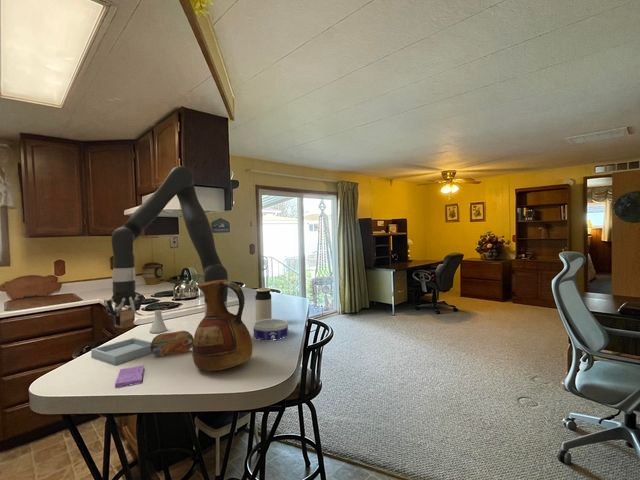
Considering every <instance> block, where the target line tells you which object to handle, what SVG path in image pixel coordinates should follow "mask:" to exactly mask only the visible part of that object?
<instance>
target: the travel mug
mask: <svg viewBox="0 0 640 480" xmlns="http://www.w3.org/2000/svg"><path fill="white" fill-rule="evenodd" d="M255 291H256V293H255V299H254V300H255V322H256V321H259V320H264V319H273V317H272V315H273V314H272V293H271V291H272V290H271V288H269V287H268V288H267V287H262V288H257V289H255Z"/></svg>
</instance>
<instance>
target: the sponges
mask: <svg viewBox="0 0 640 480" xmlns="http://www.w3.org/2000/svg"><path fill="white" fill-rule="evenodd" d="M143 370H144V371H145V366H144V364H143V365H137V366H132V367H128V368H127V367H126V368H121V369H120V368H119V372H118V375H117V377H116V380H115V382H114V389H116V387H117V388H121V386H123V387H127V386H126V385H128V386H131V385H130V384H133V385H136V384H135V383H139V384H141V383H142V381H143V376H144V375H143V374H144V371H143ZM140 382H141V383H140Z"/></svg>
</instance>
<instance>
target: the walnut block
mask: <svg viewBox="0 0 640 480" xmlns="http://www.w3.org/2000/svg"><path fill="white" fill-rule="evenodd" d="M119 316H120V326H116V325H115V324H114V327H115V328H119V329H125V328H128V327H129V328H130V327H132V326H135V325H134V321H135V320H134V310H131V309H128V308H122V310H121V312H120V315H119Z"/></svg>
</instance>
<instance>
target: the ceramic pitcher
mask: <svg viewBox="0 0 640 480" xmlns="http://www.w3.org/2000/svg"><path fill="white" fill-rule="evenodd" d="M196 287H197V288H198V289H200V290H201V292H202V293H203V295H204V296H205V300H206V304H207V310H206V316H205V315H204V317H203V318H202V319H201V320H200V321H199V323H198V325H197V327H196V329H195V332H194V336H193V338H194V340H193V346H192V348H191V350H192V354H191V355H192V359H193V363H194V365H195V367H196V368H198V369H199V370H202V371H221V370H226V369H231V368H232V367H233V368H234V367H236V366H238V365H242V364H244V363H245V362H247V361H248V360H250V358H251V357H252V356H253V348H254V347H253V340H252V336H251V334H250V331H249V329H248V327H247V326H246V324H245V323H244V322H243V320H242V316H243V312H244V311H243V310H244V308H245V300H246V298H245V294H244V291H243V289H242V287H241V286H240V285H239V284H237V283H236V282H235V281H233V280H229V279H228V280H226V279H224V280H217V281H210V282H205V283H204V282H200V283H197V284H196ZM225 287H228V289H230V290H232V291H233V292H234V293H235V295H236V297H237V300H238V310H237V313H236V314H234V313H232V312H230V311H229V310H228V307H227V308H226V306H225V302H224V296H223V292H224V288H225ZM204 296H203V297H204Z"/></svg>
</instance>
